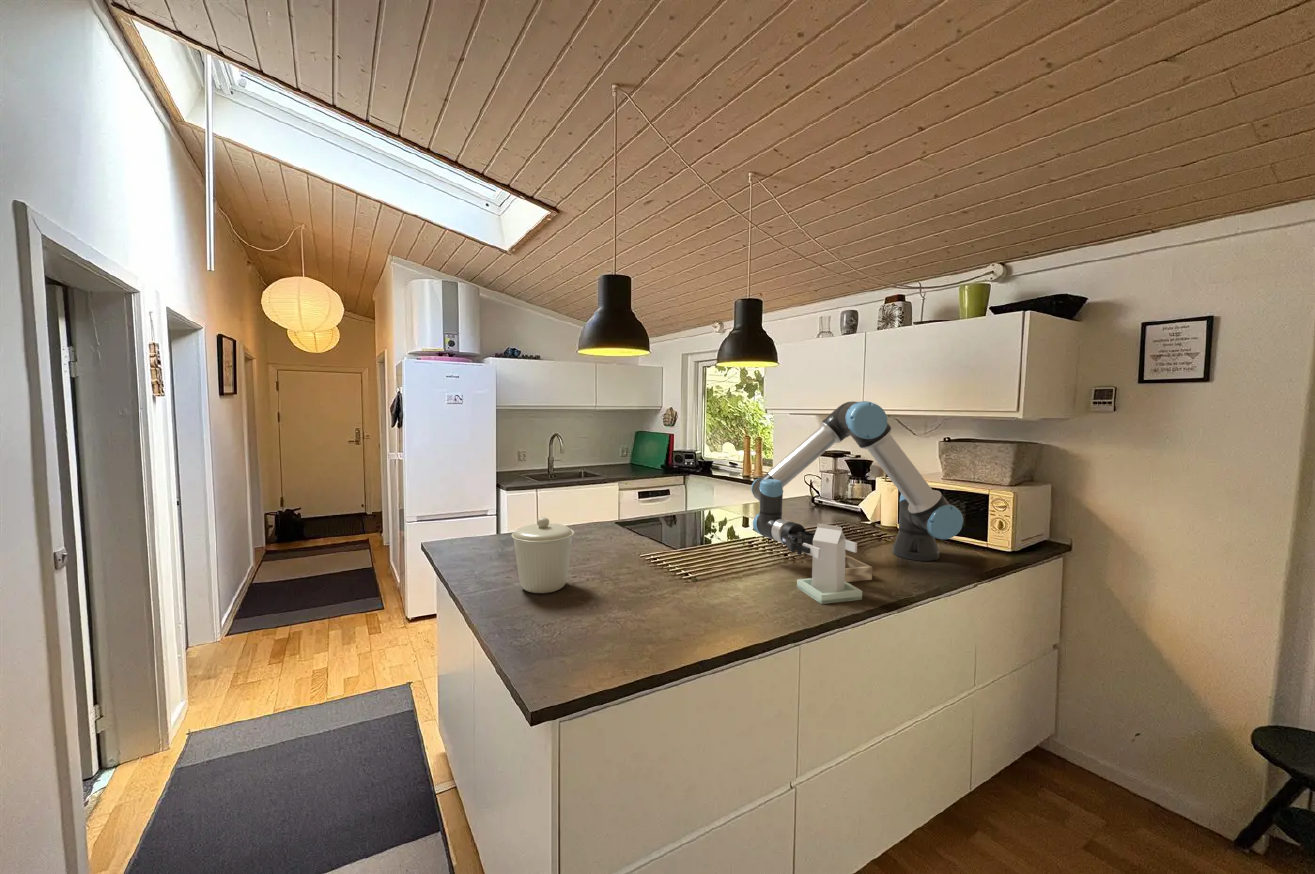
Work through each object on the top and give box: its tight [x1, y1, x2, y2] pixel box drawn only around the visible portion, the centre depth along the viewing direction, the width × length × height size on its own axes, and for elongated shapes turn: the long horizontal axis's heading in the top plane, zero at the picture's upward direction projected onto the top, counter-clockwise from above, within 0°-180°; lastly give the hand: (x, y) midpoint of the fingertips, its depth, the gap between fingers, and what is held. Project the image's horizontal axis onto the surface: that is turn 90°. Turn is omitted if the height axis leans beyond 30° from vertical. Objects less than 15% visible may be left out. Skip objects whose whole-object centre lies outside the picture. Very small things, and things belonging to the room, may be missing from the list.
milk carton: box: [811, 523, 847, 593], centre depth 153 cm, size 7×7×19 cm
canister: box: [511, 516, 575, 594], centre depth 156 cm, size 18×18×21 cm
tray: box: [796, 577, 863, 605], centre depth 153 cm, size 13×13×2 cm
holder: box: [845, 554, 873, 583], centre depth 170 cm, size 13×13×4 cm
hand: (838, 550), depth 149 cm, fingers open, 13 cm apart
